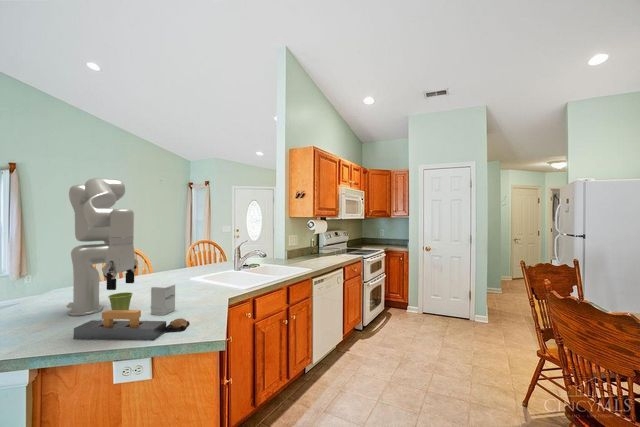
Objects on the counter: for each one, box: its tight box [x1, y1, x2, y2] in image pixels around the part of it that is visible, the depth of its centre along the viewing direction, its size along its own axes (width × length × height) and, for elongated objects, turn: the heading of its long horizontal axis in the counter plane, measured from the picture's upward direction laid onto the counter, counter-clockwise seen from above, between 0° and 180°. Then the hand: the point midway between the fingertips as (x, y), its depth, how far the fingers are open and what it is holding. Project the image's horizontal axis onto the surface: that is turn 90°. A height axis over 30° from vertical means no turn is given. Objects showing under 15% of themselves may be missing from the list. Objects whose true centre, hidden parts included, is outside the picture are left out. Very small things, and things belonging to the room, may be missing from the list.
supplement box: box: [150, 283, 176, 316], centre depth 135 cm, size 7×7×13 cm
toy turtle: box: [165, 318, 190, 334], centre depth 117 cm, size 11×8×4 cm
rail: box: [73, 319, 167, 341], centre depth 109 cm, size 30×8×4 cm, turn 88°
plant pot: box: [107, 291, 133, 310], centre depth 134 cm, size 9×9×9 cm
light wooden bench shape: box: [101, 309, 142, 327], centre depth 109 cm, size 13×3×8 cm, turn 89°
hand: (121, 286), depth 110 cm, fingers open, 9 cm apart
